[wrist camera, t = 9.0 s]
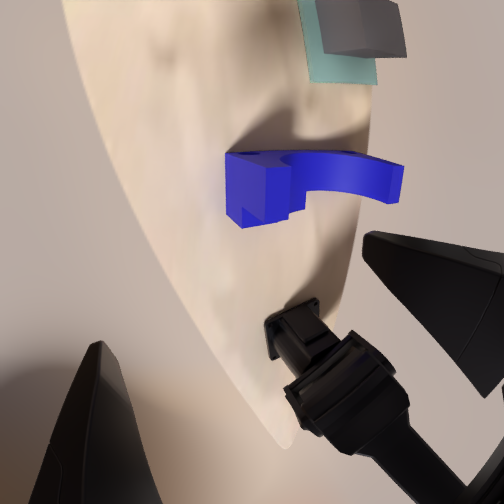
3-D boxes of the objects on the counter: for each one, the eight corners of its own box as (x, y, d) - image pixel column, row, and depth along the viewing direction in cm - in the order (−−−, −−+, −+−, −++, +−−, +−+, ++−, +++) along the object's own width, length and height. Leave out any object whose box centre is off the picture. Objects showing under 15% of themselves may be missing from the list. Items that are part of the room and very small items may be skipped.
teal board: (373, 84, 20) (377, 85, 20) (310, 82, 18) (314, 82, 17) (359, -7, 15) (363, -8, 14) (292, -24, 12) (295, -26, 12)
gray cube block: (366, 58, 18) (406, 57, 14) (324, 53, 16) (366, 48, 13) (358, 10, 15) (397, 4, 12) (314, 0, 14) (354, -13, 10)
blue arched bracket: (225, 213, 20) (263, 248, 15) (224, 152, 18) (265, 167, 13) (346, 197, 25) (394, 220, 20) (351, 150, 23) (404, 166, 18)
